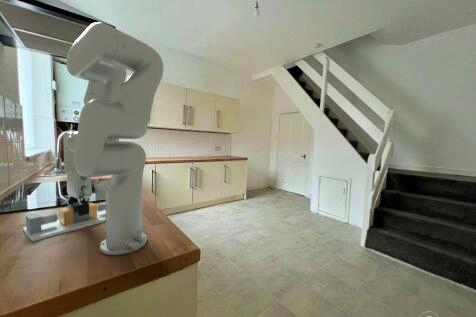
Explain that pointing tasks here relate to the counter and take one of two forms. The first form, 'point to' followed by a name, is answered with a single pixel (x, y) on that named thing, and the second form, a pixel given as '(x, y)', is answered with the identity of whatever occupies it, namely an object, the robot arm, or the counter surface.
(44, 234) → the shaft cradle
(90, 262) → the counter surface
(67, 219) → the block
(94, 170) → the robot arm
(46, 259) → the counter surface
